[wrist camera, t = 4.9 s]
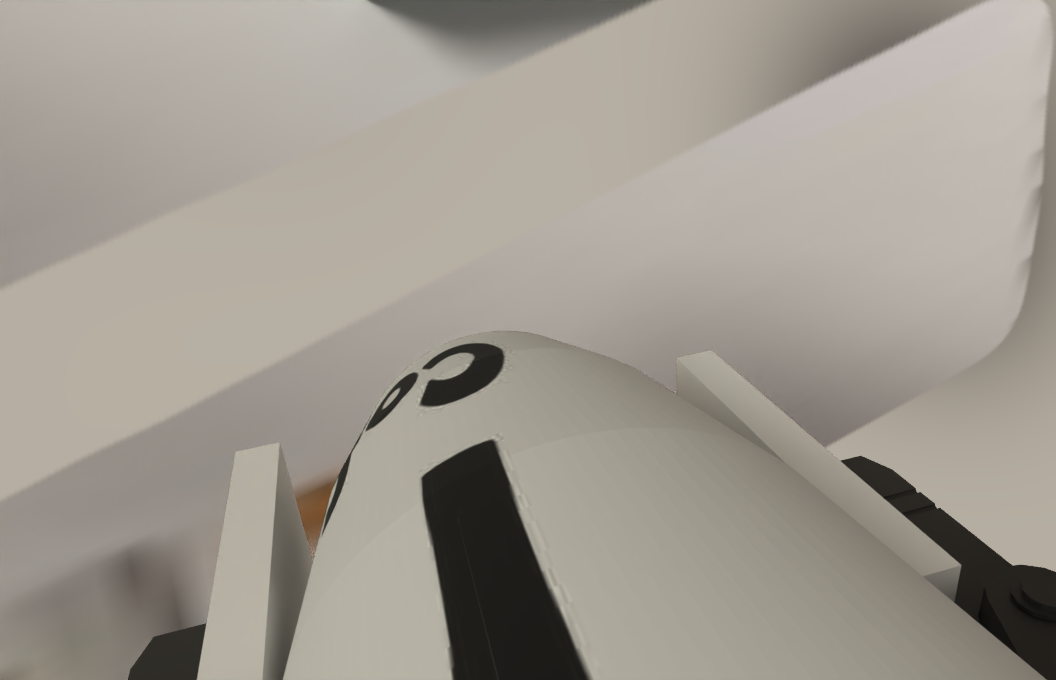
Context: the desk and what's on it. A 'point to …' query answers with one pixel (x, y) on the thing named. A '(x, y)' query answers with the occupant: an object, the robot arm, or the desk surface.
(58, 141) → the desk surface
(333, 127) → the desk surface
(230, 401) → the desk surface
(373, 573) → the cup
